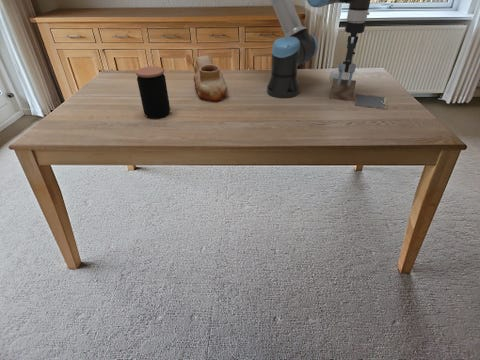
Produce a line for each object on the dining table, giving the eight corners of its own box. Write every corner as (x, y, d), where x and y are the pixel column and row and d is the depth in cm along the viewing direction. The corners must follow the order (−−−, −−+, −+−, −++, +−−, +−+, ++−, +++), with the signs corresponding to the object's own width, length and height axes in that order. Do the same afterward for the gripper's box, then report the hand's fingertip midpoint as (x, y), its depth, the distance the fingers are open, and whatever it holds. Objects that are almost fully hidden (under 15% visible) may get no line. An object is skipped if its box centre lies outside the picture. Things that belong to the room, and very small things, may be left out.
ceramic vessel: (216, 81, 159) (215, 51, 150) (231, 100, 139) (230, 67, 130) (190, 85, 155) (187, 54, 146) (201, 104, 135) (198, 70, 126)
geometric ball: (331, 88, 156) (323, 75, 154) (340, 79, 159) (332, 66, 156) (341, 85, 150) (334, 71, 147) (351, 76, 152) (343, 62, 149)
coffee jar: (175, 110, 131) (169, 67, 120) (162, 121, 123) (154, 76, 112) (153, 107, 134) (145, 65, 123) (139, 117, 126) (129, 73, 115)
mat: (355, 105, 133) (355, 104, 133) (356, 94, 143) (356, 93, 143) (387, 109, 130) (387, 108, 129) (386, 98, 139) (386, 97, 139)
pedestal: (329, 98, 140) (331, 85, 136) (331, 90, 147) (333, 78, 143) (352, 101, 137) (355, 88, 133) (353, 93, 144) (356, 80, 141)
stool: (335, 84, 137) (338, 66, 132) (336, 79, 142) (340, 61, 137) (351, 86, 135) (355, 68, 130) (352, 81, 140) (356, 63, 135)
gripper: (365, 27, 113) (353, 84, 126) (366, 16, 131) (356, 66, 144) (344, 26, 115) (334, 82, 128) (348, 15, 134) (339, 65, 146)
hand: (345, 74), depth 136 cm, fingers open, 13 cm apart
